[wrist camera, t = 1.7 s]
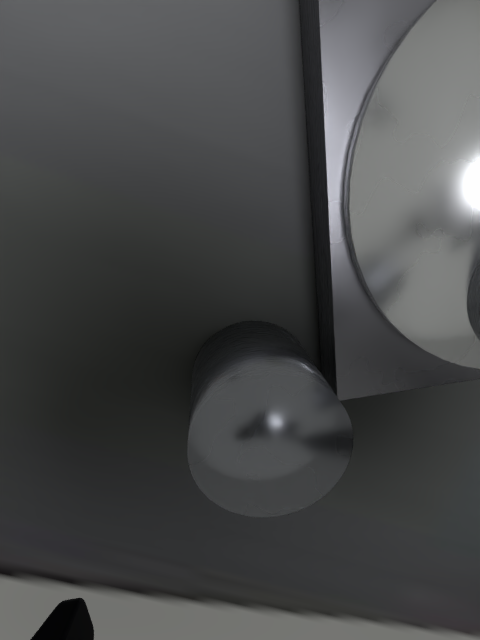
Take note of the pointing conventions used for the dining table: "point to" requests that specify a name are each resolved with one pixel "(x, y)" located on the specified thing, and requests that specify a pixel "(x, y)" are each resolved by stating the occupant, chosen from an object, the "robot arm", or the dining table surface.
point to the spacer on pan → (474, 302)
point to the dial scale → (393, 189)
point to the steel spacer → (264, 423)
